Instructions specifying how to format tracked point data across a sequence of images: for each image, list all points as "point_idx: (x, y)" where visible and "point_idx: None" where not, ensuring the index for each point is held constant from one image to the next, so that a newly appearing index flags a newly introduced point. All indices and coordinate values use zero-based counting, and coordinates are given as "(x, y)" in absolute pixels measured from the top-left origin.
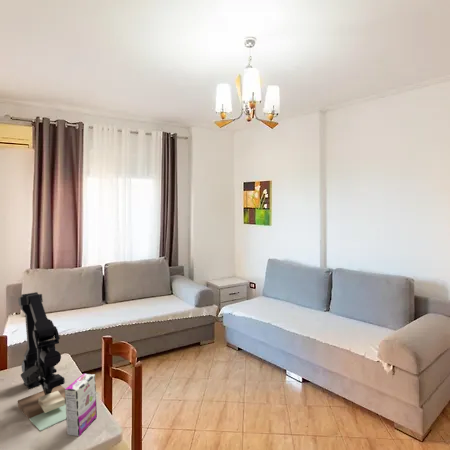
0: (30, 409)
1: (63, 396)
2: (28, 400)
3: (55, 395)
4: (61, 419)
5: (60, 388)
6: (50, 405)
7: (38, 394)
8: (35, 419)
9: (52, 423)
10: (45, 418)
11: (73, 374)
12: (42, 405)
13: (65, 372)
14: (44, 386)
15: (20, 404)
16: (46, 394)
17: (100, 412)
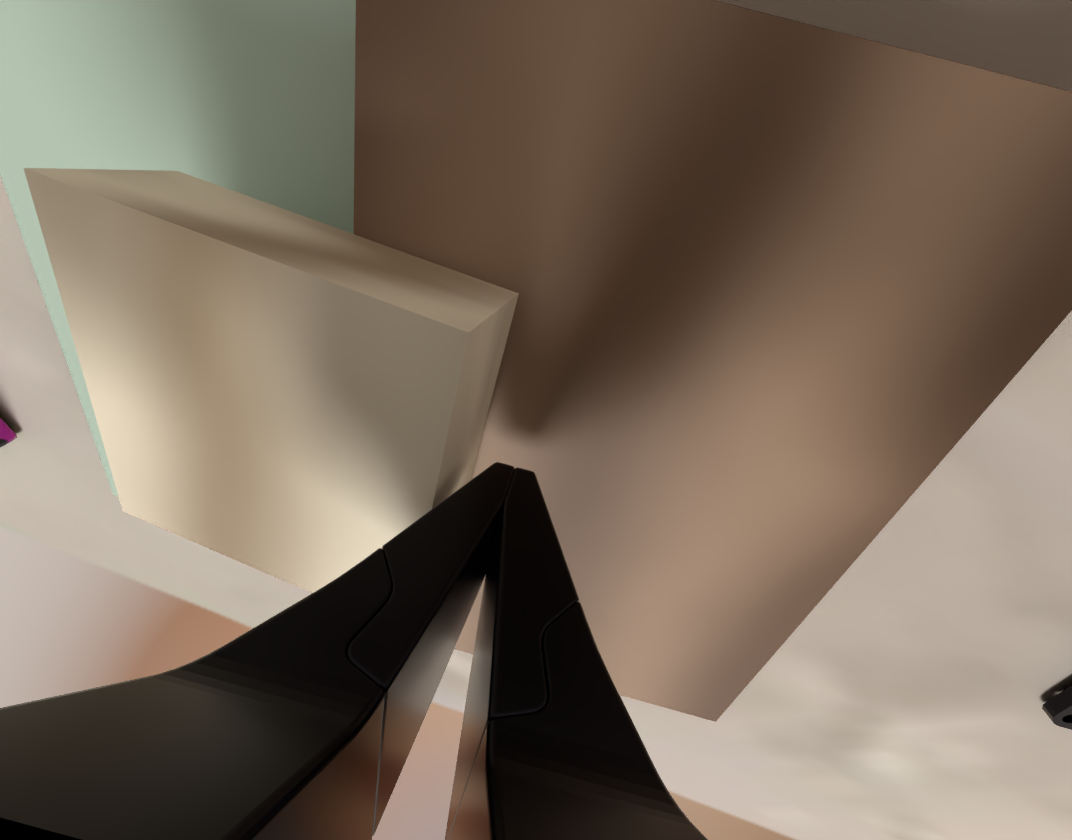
0: (480, 47)
1: None
2: (870, 281)
3: (300, 530)
4: (49, 261)
5: (621, 671)
6: (79, 291)
7: (824, 497)
8: (293, 24)
9: (4, 122)
10: (212, 155)
11: (803, 819)
12: (227, 219)
13: (922, 834)
14: (128, 681)
15: (978, 74)
16: (456, 496)
17: (21, 515)
